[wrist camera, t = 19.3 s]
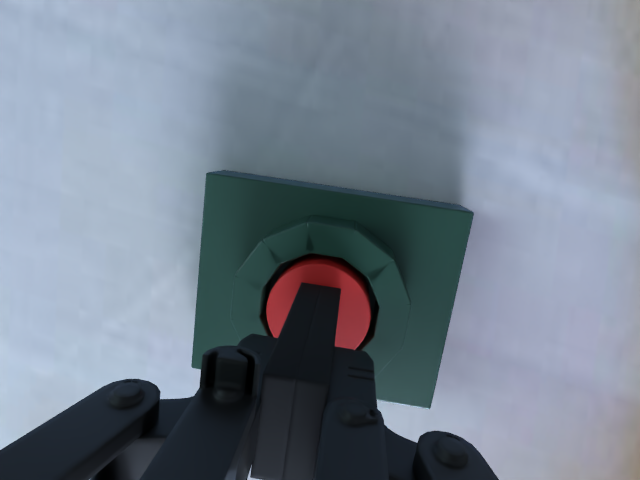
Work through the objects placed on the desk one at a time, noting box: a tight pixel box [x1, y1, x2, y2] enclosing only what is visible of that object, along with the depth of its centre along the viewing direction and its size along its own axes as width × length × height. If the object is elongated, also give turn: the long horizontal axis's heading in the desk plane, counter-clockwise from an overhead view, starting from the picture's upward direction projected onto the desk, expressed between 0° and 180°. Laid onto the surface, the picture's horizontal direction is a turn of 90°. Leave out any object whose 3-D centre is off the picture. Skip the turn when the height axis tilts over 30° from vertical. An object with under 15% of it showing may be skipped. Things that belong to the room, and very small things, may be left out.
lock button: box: [266, 254, 371, 350], centre depth 17 cm, size 4×4×2 cm
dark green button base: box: [192, 170, 474, 409], centre depth 18 cm, size 11×9×4 cm
